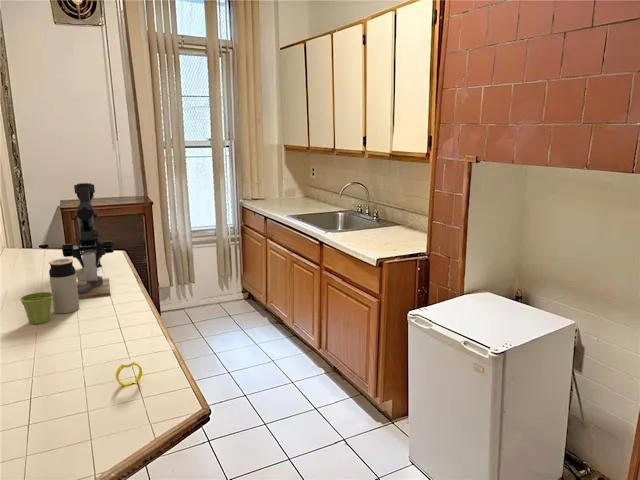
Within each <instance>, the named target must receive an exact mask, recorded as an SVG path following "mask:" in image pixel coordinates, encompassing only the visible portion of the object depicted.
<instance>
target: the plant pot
mask: <svg viewBox="0 0 640 480" xmlns="http://www.w3.org/2000/svg"><path fill="white" fill-rule="evenodd" d="M52 296H53V294H52V292H49V291H40V292H32V293H29V294H25V295H22V296H21V297H19V301H20V302H21V304H22V305H23V308H24V310H25V313H26V317H27V319H28V320H27V321H28V324H31V325H37V324H45V323H47V322H49V321H50V320H51V308H52V307H51V304H52V301H53V299H52Z"/></svg>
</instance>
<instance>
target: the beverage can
mask: <svg viewBox="0 0 640 480" xmlns="http://www.w3.org/2000/svg"><path fill="white" fill-rule="evenodd" d="M81 257H82V258H83V274H86V280H87V281H95V280H98V276H99V275H98V267H97V266H96V255H95V253H84V254H83V255H82V256H81Z"/></svg>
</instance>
